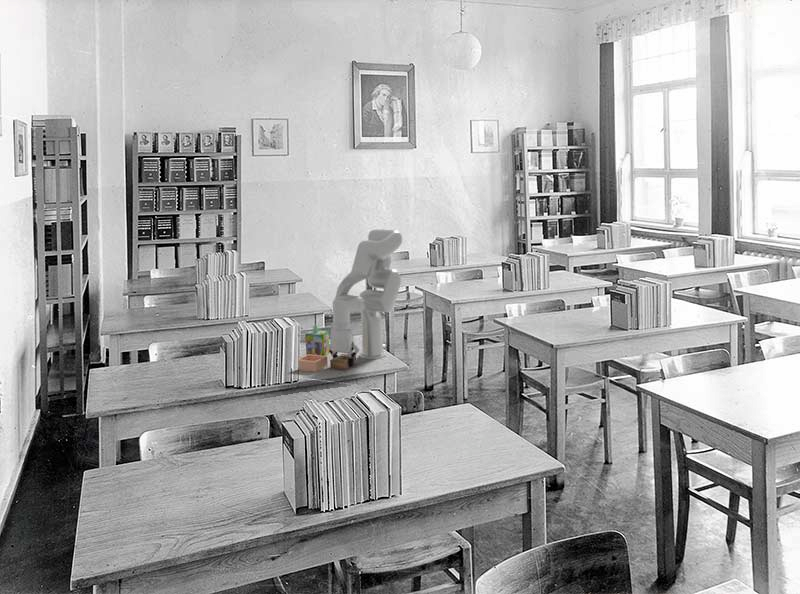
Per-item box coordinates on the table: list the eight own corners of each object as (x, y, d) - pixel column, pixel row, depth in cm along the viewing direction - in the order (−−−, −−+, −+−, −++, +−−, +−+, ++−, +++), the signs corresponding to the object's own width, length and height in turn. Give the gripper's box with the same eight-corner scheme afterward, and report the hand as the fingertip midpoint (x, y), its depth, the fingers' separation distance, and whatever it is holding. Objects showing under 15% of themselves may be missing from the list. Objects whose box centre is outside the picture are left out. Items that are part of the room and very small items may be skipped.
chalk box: (324, 358, 342) (323, 327, 340) (305, 358, 344) (304, 327, 341) (330, 353, 351) (329, 323, 348) (311, 353, 353) (310, 323, 350)
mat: (341, 362, 336) (341, 361, 336) (360, 364, 331) (360, 363, 331) (325, 370, 323) (325, 369, 323) (345, 372, 319) (345, 371, 319)
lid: (342, 362, 334) (342, 352, 333) (356, 363, 331) (355, 353, 330) (330, 368, 324) (330, 358, 323) (344, 370, 321) (344, 359, 320)
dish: (308, 364, 333) (308, 354, 332) (327, 367, 328) (327, 356, 328) (296, 370, 324) (296, 359, 323) (316, 373, 320) (315, 362, 319)
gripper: (320, 326, 324) (322, 365, 327) (355, 329, 317) (356, 369, 320) (329, 323, 331) (330, 361, 334) (363, 326, 323) (364, 365, 327)
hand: (343, 365), depth 327 cm, fingers closed on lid, 7 cm apart
